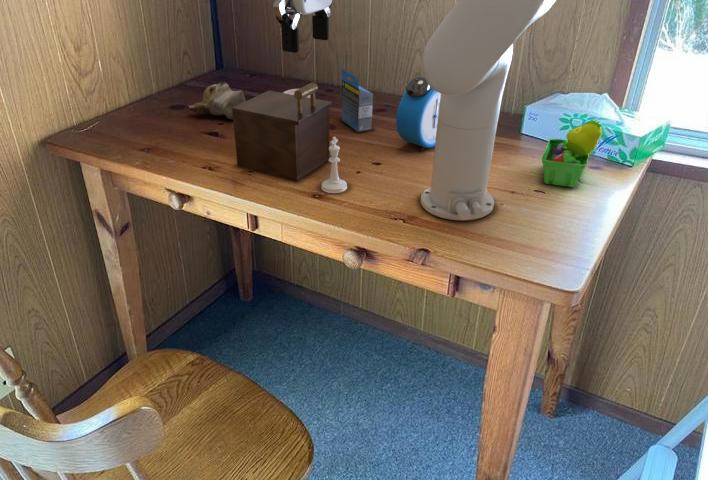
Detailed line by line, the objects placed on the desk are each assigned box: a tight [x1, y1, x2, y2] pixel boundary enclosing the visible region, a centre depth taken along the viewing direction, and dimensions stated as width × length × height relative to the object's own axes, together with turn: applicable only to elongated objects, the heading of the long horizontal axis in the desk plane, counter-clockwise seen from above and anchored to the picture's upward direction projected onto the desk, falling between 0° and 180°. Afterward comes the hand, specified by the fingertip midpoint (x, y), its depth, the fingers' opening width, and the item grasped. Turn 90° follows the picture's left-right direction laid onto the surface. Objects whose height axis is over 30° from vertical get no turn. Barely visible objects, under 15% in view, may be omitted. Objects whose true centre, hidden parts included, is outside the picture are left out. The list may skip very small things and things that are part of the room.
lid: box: [232, 81, 334, 126], centre depth 118 cm, size 16×12×5 cm
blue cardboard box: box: [341, 67, 374, 133], centre depth 139 cm, size 9×4×12 cm, turn 22°
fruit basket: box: [541, 119, 603, 188], centre depth 113 cm, size 11×9×11 cm
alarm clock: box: [395, 75, 441, 152], centre depth 127 cm, size 13×6×15 cm, turn 133°
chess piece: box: [320, 136, 348, 194], centre depth 113 cm, size 5×5×10 cm
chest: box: [232, 108, 331, 182], centre depth 123 cm, size 15×12×11 cm
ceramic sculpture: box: [185, 80, 246, 120], centre depth 148 cm, size 11×9×15 cm
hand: (306, 45), depth 110 cm, fingers open, 9 cm apart
